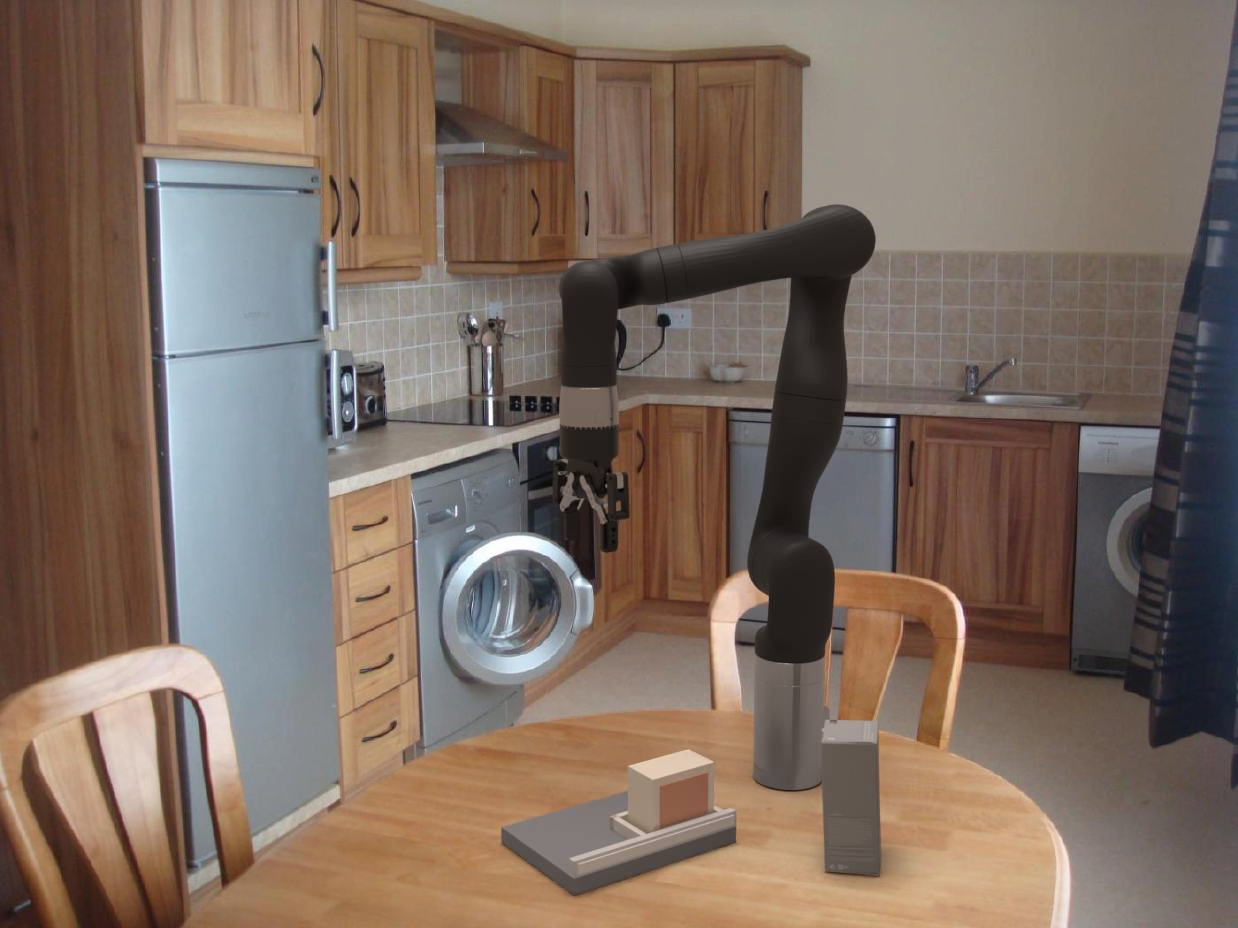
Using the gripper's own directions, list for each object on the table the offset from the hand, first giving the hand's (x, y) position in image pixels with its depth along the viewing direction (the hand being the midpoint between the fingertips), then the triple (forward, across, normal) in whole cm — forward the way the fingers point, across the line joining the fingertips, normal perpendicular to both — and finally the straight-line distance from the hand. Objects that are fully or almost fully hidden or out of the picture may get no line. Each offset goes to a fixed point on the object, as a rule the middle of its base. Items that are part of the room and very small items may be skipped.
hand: (590, 545), depth 175 cm
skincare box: (+32, -36, -12) cm, 50 cm away
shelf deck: (+32, -17, +8) cm, 37 cm away
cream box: (+30, -21, +3) cm, 37 cm away
